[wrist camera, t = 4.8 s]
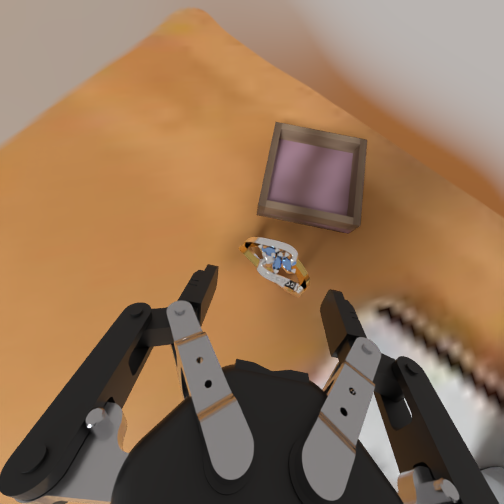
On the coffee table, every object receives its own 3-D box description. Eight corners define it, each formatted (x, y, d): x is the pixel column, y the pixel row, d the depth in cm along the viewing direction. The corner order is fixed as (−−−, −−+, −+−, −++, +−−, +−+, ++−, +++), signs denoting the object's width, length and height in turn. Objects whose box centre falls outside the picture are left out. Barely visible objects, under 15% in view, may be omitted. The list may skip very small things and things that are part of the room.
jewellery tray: (355, 154, 25) (367, 139, 23) (348, 233, 23) (360, 225, 20) (272, 138, 25) (275, 121, 23) (256, 214, 23) (258, 205, 20)
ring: (234, 261, 22) (228, 242, 14) (254, 241, 22) (259, 212, 14) (281, 306, 21) (302, 312, 13) (300, 284, 21) (332, 277, 14)
